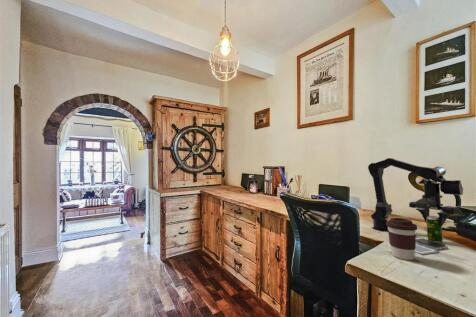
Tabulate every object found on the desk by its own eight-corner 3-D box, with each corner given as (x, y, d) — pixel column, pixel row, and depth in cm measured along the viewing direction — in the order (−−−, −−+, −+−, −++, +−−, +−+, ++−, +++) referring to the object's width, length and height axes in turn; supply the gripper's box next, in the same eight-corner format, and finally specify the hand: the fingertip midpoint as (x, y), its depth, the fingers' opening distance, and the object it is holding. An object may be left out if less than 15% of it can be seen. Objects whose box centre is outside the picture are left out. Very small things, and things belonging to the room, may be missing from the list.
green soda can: (434, 239, 102) (432, 215, 103) (446, 243, 97) (444, 217, 98) (424, 239, 102) (423, 215, 103) (436, 243, 97) (434, 218, 97)
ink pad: (411, 242, 98) (411, 239, 98) (422, 241, 100) (422, 237, 100) (435, 250, 89) (435, 246, 89) (447, 248, 90) (447, 245, 91)
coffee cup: (406, 263, 77) (404, 223, 77) (381, 253, 86) (380, 217, 87) (425, 260, 79) (423, 221, 80) (399, 250, 89) (397, 216, 90)
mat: (397, 246, 94) (397, 245, 94) (413, 244, 96) (413, 243, 96) (421, 255, 84) (421, 253, 84) (439, 252, 86) (439, 251, 86)
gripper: (400, 191, 108) (402, 221, 107) (443, 196, 90) (445, 231, 89) (416, 191, 111) (417, 220, 110) (460, 195, 93) (463, 229, 92)
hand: (434, 224), depth 100 cm, fingers closed on green soda can, 5 cm apart
